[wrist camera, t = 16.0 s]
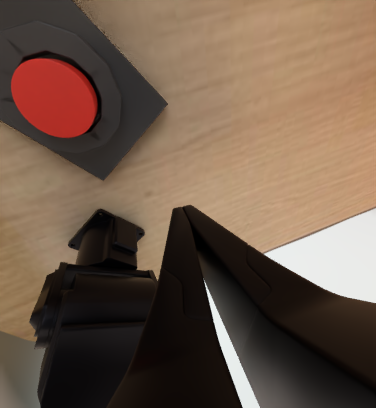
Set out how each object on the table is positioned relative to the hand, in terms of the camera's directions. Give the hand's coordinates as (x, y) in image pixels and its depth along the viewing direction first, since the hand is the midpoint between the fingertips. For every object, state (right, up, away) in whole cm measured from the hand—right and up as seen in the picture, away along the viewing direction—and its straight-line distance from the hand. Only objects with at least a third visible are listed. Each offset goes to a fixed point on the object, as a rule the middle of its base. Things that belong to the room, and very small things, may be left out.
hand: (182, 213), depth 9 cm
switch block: (-9, +9, +6) cm, 14 cm away
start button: (-8, +7, +3) cm, 11 cm away
